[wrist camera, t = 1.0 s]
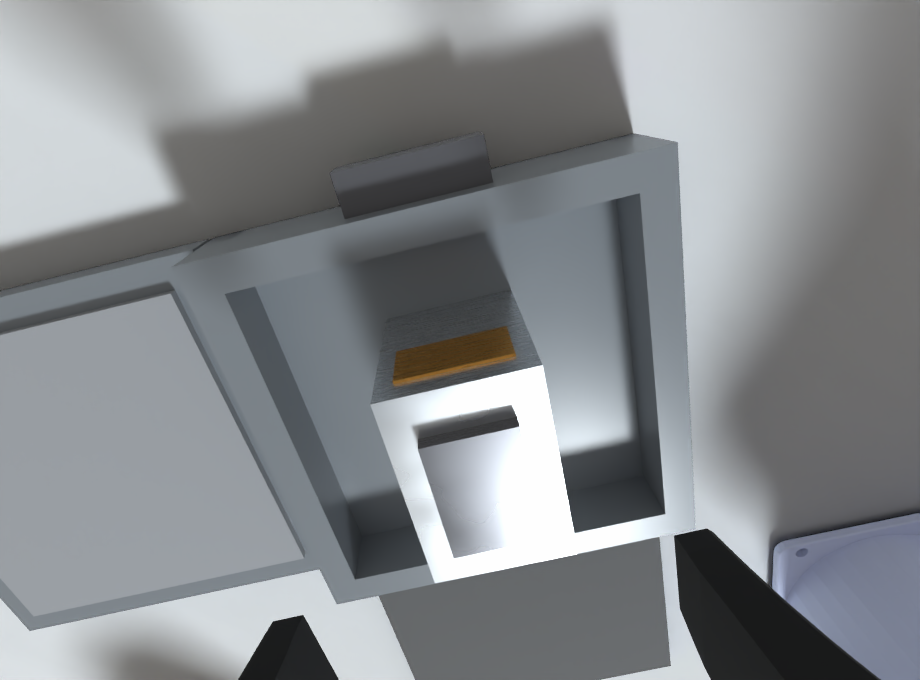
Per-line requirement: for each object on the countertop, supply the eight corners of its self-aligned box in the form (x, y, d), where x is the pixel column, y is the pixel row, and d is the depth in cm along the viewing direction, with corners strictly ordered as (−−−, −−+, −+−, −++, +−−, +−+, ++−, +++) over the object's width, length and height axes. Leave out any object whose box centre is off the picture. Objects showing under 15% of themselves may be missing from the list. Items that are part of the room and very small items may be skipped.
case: (630, 89, 15) (675, 88, 12) (661, 472, 21) (695, 529, 18) (-208, 301, 16) (-336, 343, 14) (49, 604, 22) (-4, 675, 20)
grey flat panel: (651, 503, 22) (657, 513, 21) (665, 653, 26) (670, 665, 25) (371, 562, 22) (369, 574, 22) (429, 700, 27) (429, 713, 26)
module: (510, 286, 16) (545, 370, 11) (542, 442, 19) (581, 565, 14) (385, 316, 16) (367, 411, 12) (433, 466, 19) (435, 596, 14)
